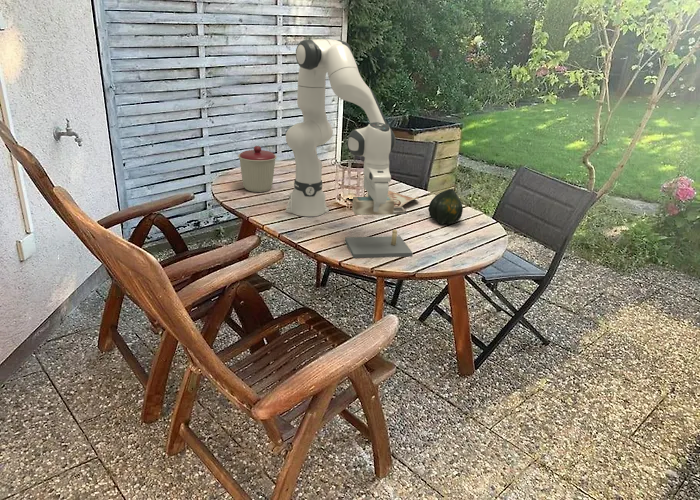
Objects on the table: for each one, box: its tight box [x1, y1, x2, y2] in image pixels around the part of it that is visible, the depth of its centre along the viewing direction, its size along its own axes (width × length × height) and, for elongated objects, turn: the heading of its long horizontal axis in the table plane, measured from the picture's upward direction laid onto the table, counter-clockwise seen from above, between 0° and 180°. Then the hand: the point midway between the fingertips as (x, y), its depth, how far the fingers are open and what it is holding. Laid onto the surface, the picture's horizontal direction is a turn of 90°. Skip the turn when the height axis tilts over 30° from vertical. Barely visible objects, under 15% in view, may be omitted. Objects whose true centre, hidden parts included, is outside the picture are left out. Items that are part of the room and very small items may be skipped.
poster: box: [366, 190, 419, 211], centre depth 252 cm, size 28×6×30 cm
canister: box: [237, 145, 278, 193], centre depth 252 cm, size 18×18×21 cm
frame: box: [351, 197, 407, 216], centre depth 191 cm, size 19×6×5 cm, turn 102°
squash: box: [427, 188, 464, 225], centre depth 228 cm, size 14×15×15 cm
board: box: [344, 229, 414, 259], centre depth 196 cm, size 16×22×7 cm
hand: (373, 207), depth 191 cm, fingers closed on frame, 5 cm apart
